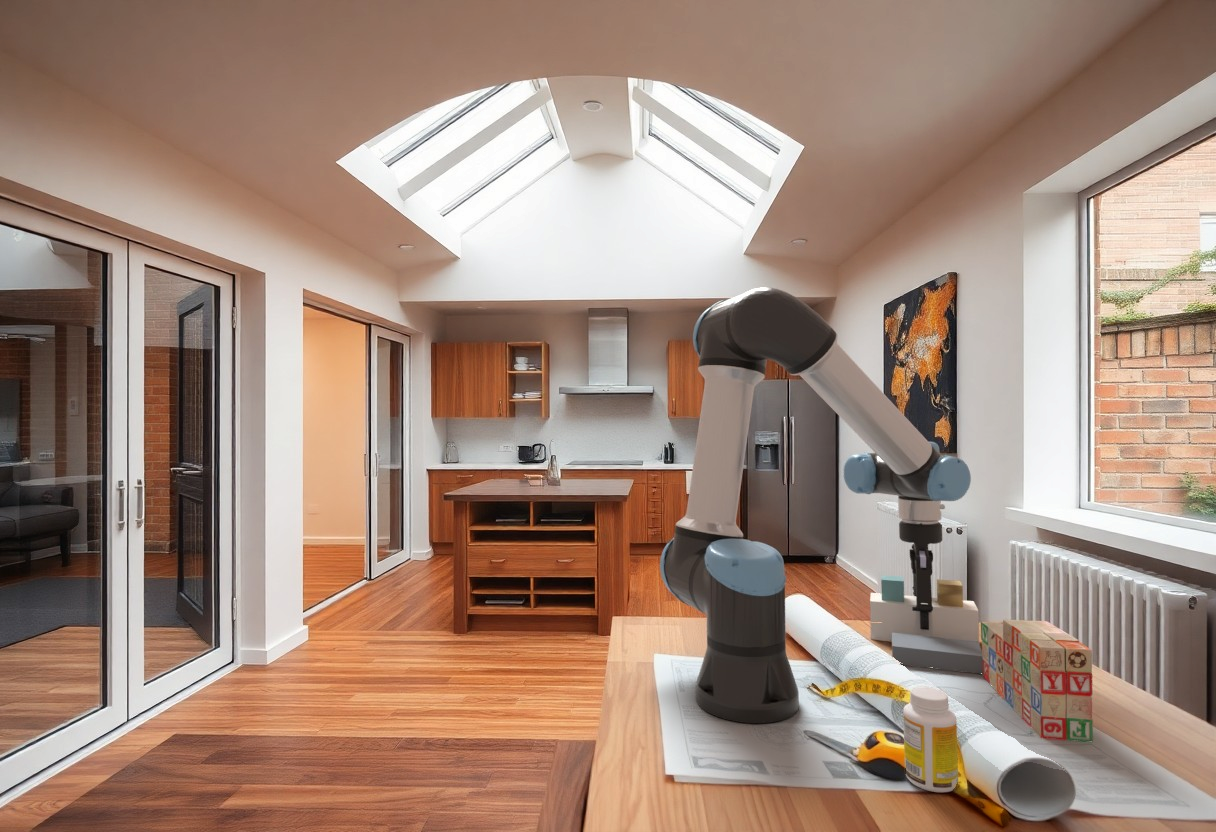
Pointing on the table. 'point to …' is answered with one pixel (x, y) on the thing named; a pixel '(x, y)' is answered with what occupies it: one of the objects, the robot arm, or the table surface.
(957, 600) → the golden brown cube
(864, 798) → the table surface
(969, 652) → the block
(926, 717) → the supplement bottle
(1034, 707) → the stack of blocks
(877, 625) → the off-white rectangular block
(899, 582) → the teal cube
